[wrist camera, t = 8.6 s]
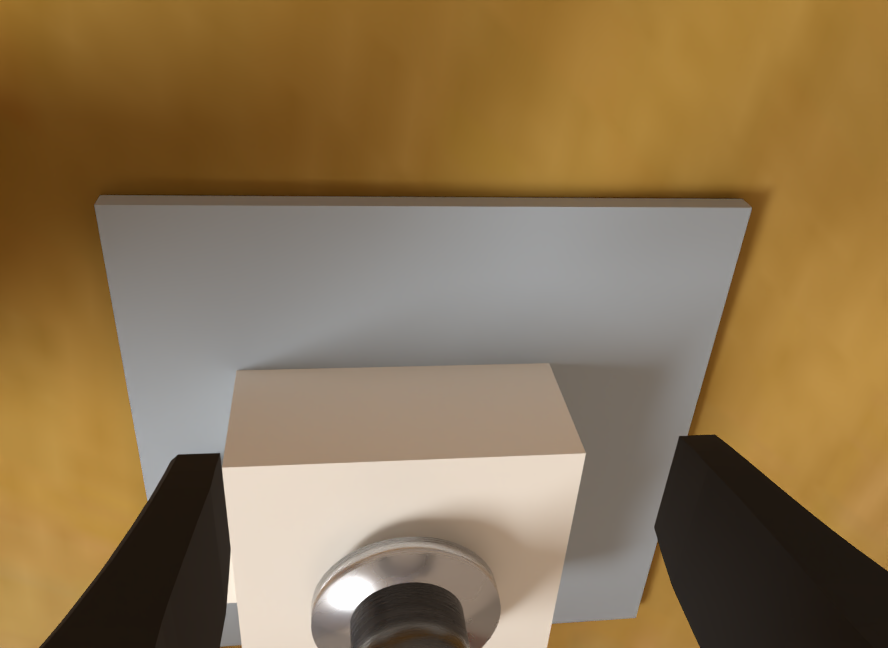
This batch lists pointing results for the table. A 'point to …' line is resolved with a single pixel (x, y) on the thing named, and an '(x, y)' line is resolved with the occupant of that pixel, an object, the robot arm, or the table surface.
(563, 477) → the box
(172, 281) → the board
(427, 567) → the plunger
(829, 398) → the table surface
